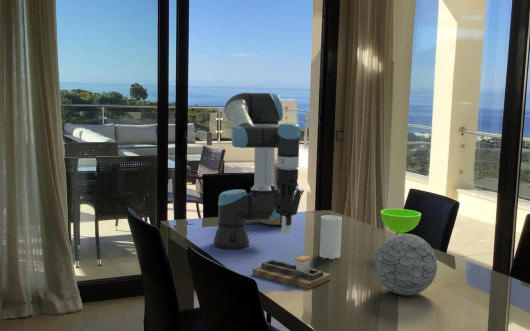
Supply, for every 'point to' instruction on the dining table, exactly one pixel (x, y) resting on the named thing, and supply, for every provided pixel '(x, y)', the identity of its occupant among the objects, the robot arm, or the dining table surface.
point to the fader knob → (303, 264)
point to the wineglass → (400, 219)
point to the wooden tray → (291, 274)
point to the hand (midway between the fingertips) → (285, 233)
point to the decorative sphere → (406, 264)
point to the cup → (330, 236)
